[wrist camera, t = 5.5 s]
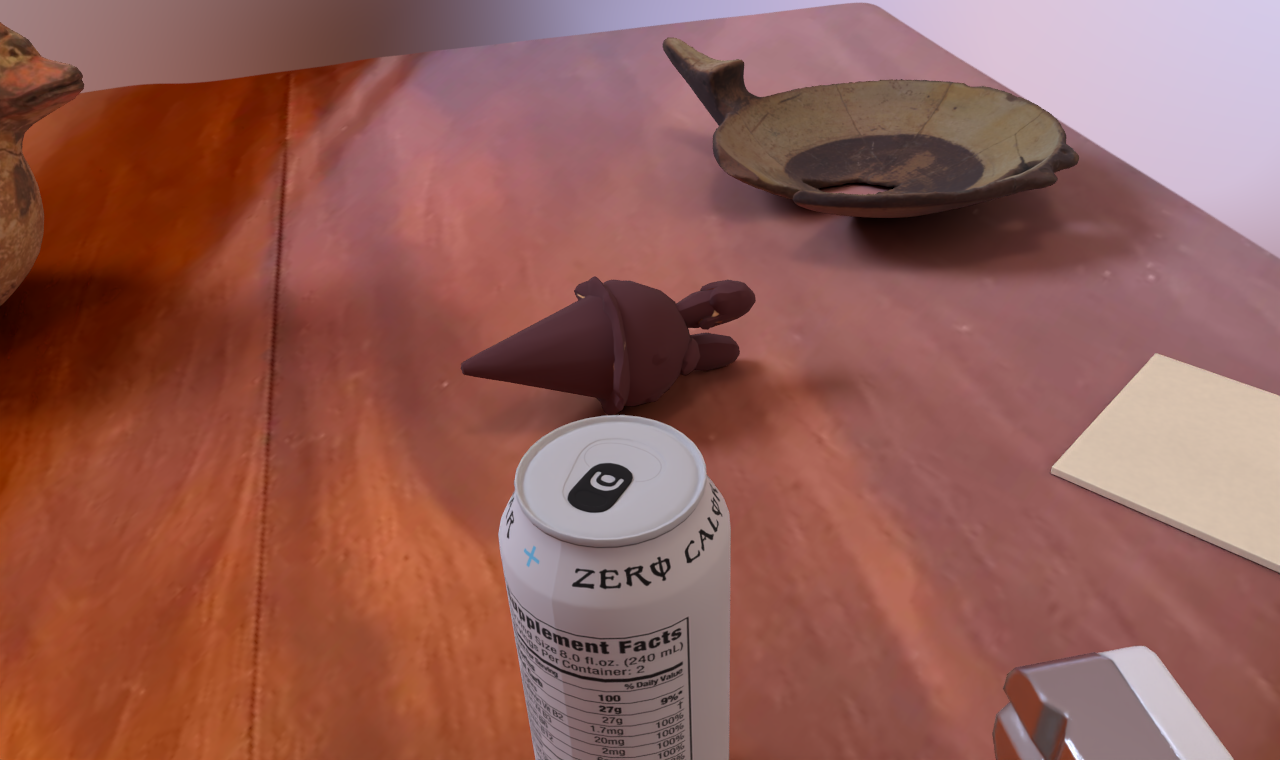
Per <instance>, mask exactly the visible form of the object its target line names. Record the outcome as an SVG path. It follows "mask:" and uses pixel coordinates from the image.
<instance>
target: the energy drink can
mask: <svg viewBox="0 0 1280 760" xmlns="http://www.w3.org/2000/svg"><path fill="white" fill-rule="evenodd" d="M514 485H515V491H514V493H513V495H512V497H511V498H510V500H509V502H508V504H507V507H506V509H505V511H504V513H503V515H502V518H501V522H500V528H499V534H498V535H499V544H500V552H501V558H502V564H503V570H504V576H505V582H506V588H507V593H508V599H509V605H510V611H511V617H512V623H513V629H514V635H515V641H516V647H517V652H518V658H519V664H520V670H521V676H522V682H523V688H524V694H525V700H526V706H527V711H528V717H529V723H530V729H531V735H532V741H533V747H534V753H535V759H536V760H729V687H730V533H731V528H730V516H729V511H728V508H727V506H726V503H725V500H724V498H723V496H722V495H721V493H720V492H719V490H718V489H717V488H716V486H715V485H714V483H713V482H712V481H711V479H710V478H709V477H708V476H707V474H706V465H705V462H704V459H703V456H702V454H701V452H700V451H699V450H698V448H697V447H696V445H695V444H694V443H693V442H692V441H691V440H690V439H689V438H688V437H687V436H685V435H684V434H683V433H681V432H680V431H678V430H676V429H675V428H673V427H671V426H669V425H666V424H664V423H661V422H658V421H656V420H652V419H647V418H643V417H637V416H626V415H609V416H599V417H592V418H586V419H583V420H579V421H575V422H572V423H569V424H567V425H564V426H562V427H560V428H557V429H555V430H553V431H552V432H550V433H548V434H547V435H545V436H543V437H542V438H541V439H540V440H538V441H537V442H536V443H535V444H534V445H532V446H531V447H530V449H529V450H528V451H527V452H526V454H525V455H524V456H523V457H522V459H521V461H520V463H519V466H518V468H517V470H516V475H515V481H514Z"/></svg>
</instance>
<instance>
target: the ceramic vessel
mask: <svg viewBox="0 0 1280 760" xmlns="http://www.w3.org/2000/svg"><path fill="white" fill-rule="evenodd" d="M82 78H83V75H82V73H81V72H80V71H79V70H78V68H77V67H75V66H72V65H70V64H66V63H62V62H57V61H52V60H48V59H46V58H43V57H41V55H40V54H39V53H38V51H37V50H36V49H35V48H34V46H33V45H32V44H31V42H30V41H29V40H28V39H26V38H25V37H23V36H22V35H20V34H18V33H16V32H14V31H13V30H11V29H9V28H8V27H6V26H4V25H3V24H2V23H1V22H0V306H1V305H2V304H3V303H4V302H5V301H6V300H7V299H8V298H9V297H10V296H11V295H12V294H13V293H14V291H15V290H16V289H17V288H18V287H19V285H20V284H21V283H22V281H23V280H24V279H25V277H26V276H27V275H28V273H29V272H30V270H31V268H32V266H33V264H34V262H35V260H36V258H37V256H38V254H39V252H40V247H41V243H42V237H43V231H44V211H43V205H42V200H41V196H40V192H39V187H38V185H37V182H36V180H35V178H34V175H33V173H32V171H31V169H30V166H29V165H28V163H27V161H26V160H25V158H24V156H23V154H22V141H23V137H24V133H25V132H26V131H27V130H28V129H29V128H30V127H31V126H32V125H33V124H34V123H36V122H37V121H39V120H40V119H42V118H44V117H45V116H47V115H48V114H50V113H52V112H53V111H55V110H57V109H58V108H60V107H61V106H63V105H65V104H66V103H68V102H70V101H71V100H73V99H75V97H76V96H77V95H78V94H79V93H80V92H81V91H82V90H83V89H84V83H83V81H82Z"/></svg>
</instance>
